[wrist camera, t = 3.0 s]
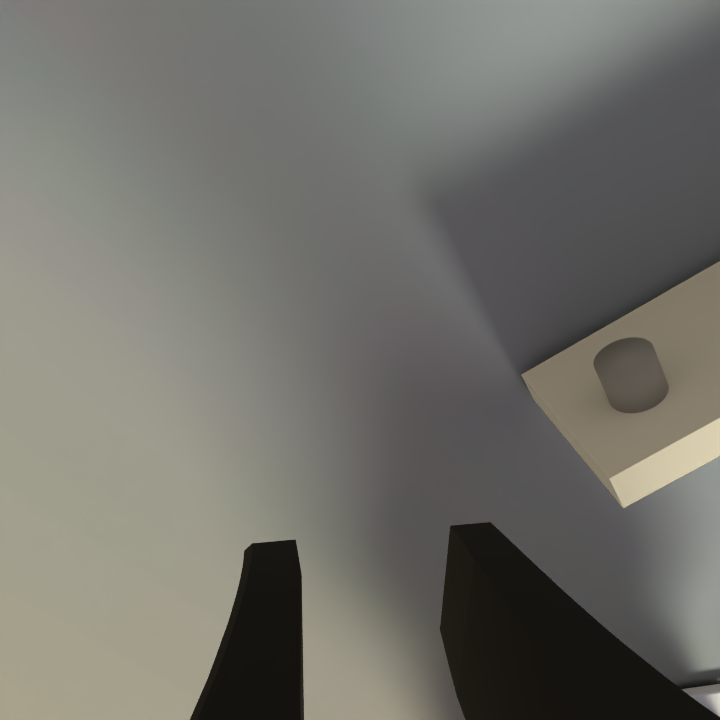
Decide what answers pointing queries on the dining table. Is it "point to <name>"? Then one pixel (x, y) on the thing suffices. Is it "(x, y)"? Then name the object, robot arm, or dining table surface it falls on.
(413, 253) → the dining table surface
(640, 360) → the cabinet door
